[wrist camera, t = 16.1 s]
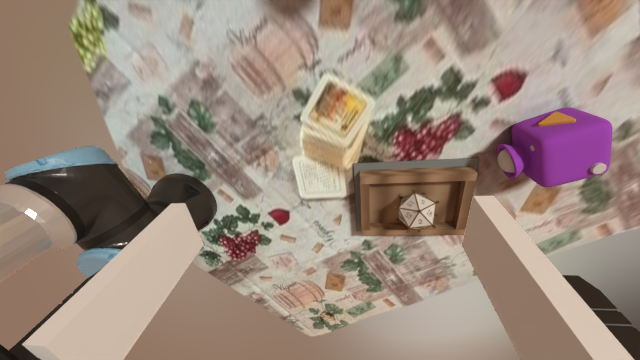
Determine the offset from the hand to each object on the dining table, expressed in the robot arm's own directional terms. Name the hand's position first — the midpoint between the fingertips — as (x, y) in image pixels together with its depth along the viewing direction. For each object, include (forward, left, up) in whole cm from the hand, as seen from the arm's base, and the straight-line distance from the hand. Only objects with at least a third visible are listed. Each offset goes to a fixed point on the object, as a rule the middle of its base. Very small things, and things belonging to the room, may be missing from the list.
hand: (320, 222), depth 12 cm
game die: (+13, -25, -38) cm, 47 cm away
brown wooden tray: (+13, -25, -39) cm, 48 cm away
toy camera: (+33, -13, -39) cm, 53 cm away
